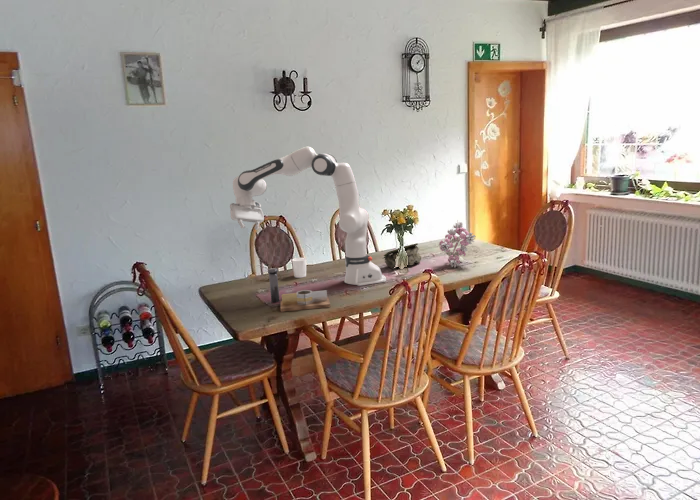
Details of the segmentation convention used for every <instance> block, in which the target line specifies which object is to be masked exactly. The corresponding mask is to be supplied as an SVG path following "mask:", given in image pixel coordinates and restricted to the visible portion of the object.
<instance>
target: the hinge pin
mask: <svg viewBox="0 0 700 500" xmlns="http://www.w3.org/2000/svg"><path fill="white" fill-rule="evenodd" d="M278 272H279V269H278V268H277V267H271V268H268V269H267V273H268V278H269V289H270V290H269V292H270V300H271V301H270V302H271V303H279V302H280V301H281V300H280V290H279V281H278V280H279V277H278Z"/></svg>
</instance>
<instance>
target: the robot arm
mask: <svg viewBox="0 0 700 500" xmlns="http://www.w3.org/2000/svg"><path fill="white" fill-rule="evenodd" d="M309 168H312V171H313V173H315V174H316V175H319V176H323V177H325V176H327V177H330V176H331V179H333V183H334V186H335V187H334V188H335V192H336V195H337V201H338V208H339V212H338V213H339V219H338V226H339V229H340V230H341V231H343V232H345V233H346V237H345V240H344V244H345V245H344V246H345V257H344V263H345V265H344V266H345V276H344V277H345V278H344V281H343V282H344V283H345V284H348V285H354V286H365V285H372V284H380V283H385V282H386V281H387V277H386V276H385V275H384V274H383V273H382V270H381V268H380V267H379V266H378V265H377V264H375V263H373V261H372V260H373V257H372V256H371V255H369V254H367V233H368V232H367V231H368V223H369V219H370V217H369V216H370V215H369V213H368V211H367V210H366V209H365V208H363V207H360V205H359V203H360V201H359V200H360V194H359V193H360V192H359V189H358V186H357V181H356V178H355V175H354V172H353V169H352V167H351V166H350V164H349V163H347V162H337V159H336V157H334V156H333V155H332V154H329V153H318V154H317V153H316V150H314V148H312V147H311V146H308V145H307V146H304V147H301V148H299V149H296V150H293V152H291V153H288V154H287V155H284V156H282V157H280V158H277V159H274V160H271V161H269V162H267V163H265V164H263V165H260V166H258V167H256V168H254V169H251V170H243V172H240V174H239V175H238V176H236V177H235V178H234V179H233V181H232V188H233V189H232V190H233V194H234V196H235V202H234V203H233V202H231V203H230V204H229V209H230V218H231V220H232V221H237V223H238V225H239V226H240V228H241V229H245V228H246V224H245V223H243V222H247V223H254V225H255V226H254V230H256V231H258V230H259V229H260V227H259V226H260V224H261V223H263V222H264V220H265V215H264V212H263V209H262V204H261V203H259V202H258V201H256V200H254V199H253V197H258V196H261V195H264V194H265V192H266V191H267V186H268V185H267V181H265V178H267V177H270V176H272V175H283V176H288V177H292V176H295V175H298V174H301V173H302V172H304V171H305V170H308V169H309Z"/></svg>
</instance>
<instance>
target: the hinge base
mask: <svg viewBox="0 0 700 500" xmlns="http://www.w3.org/2000/svg"><path fill="white" fill-rule="evenodd" d="M279 302H280V312H283V313H284V312H292V311H303V310H312V309H322V308H331V302H330V298H329V297H328V296H327V301H319V302H313V303H312V304H308V305H298V304H287V305H282V300H280V301H279Z"/></svg>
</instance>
